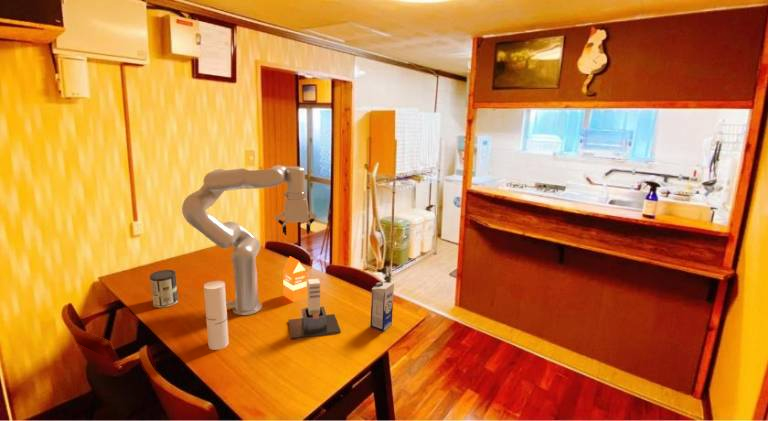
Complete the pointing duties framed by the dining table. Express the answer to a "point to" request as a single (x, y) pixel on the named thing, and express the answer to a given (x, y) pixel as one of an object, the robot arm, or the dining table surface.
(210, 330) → the cylindrical container
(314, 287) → the column
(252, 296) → the robot arm
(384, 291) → the milk carton
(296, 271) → the orange juice
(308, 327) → the stand base
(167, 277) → the coffee can
